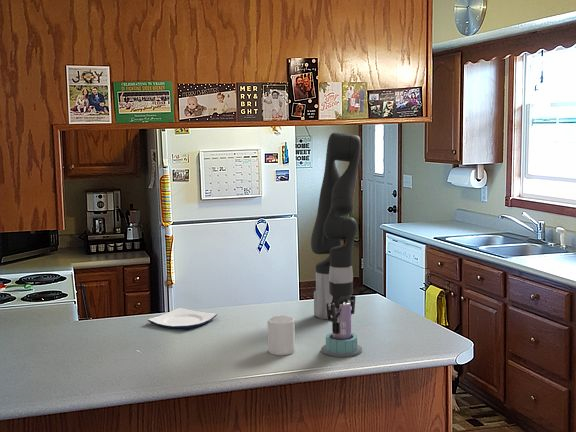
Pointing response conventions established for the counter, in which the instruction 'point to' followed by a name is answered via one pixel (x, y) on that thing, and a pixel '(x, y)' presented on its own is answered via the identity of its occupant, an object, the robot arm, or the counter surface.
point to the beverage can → (344, 322)
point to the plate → (182, 319)
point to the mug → (281, 335)
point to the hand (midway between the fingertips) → (341, 330)
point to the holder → (341, 347)
